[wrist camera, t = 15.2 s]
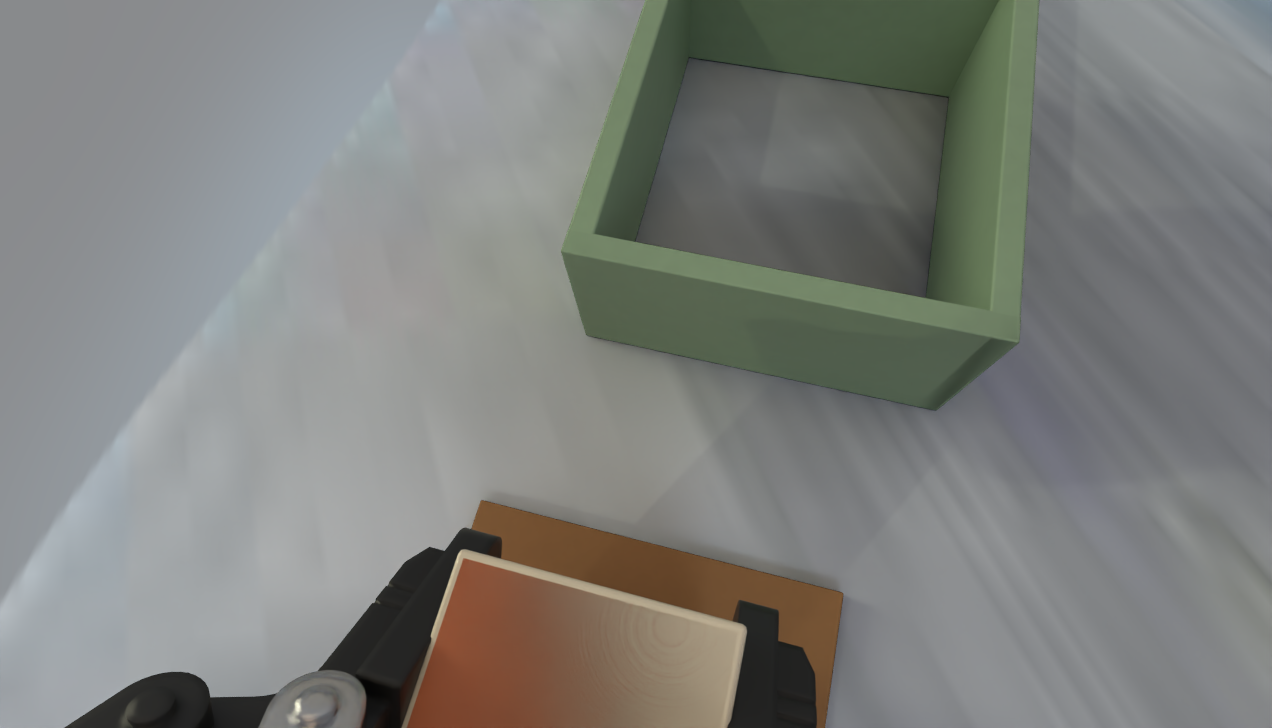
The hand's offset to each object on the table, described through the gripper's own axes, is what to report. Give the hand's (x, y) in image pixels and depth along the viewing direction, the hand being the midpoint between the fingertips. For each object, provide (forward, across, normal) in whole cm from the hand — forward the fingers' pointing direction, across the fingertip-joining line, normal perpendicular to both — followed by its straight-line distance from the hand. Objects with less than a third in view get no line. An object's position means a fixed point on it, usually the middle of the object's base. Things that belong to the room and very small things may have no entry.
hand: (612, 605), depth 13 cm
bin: (+18, +2, +5) cm, 19 cm away
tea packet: (+5, 0, -7) cm, 9 cm away
